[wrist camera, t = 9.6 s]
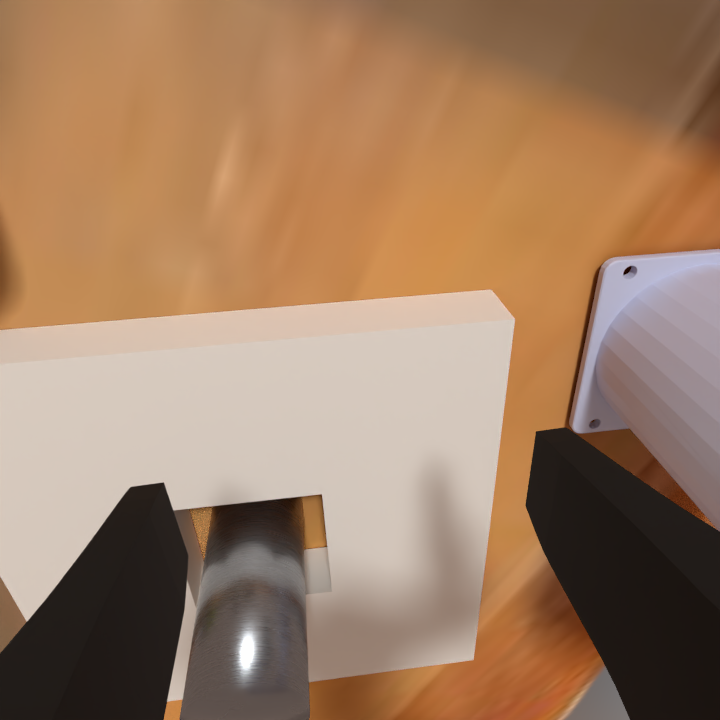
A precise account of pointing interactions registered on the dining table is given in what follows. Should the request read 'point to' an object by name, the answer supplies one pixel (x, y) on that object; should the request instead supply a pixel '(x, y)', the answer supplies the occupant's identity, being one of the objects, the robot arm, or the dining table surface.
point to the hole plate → (275, 455)
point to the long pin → (251, 617)
